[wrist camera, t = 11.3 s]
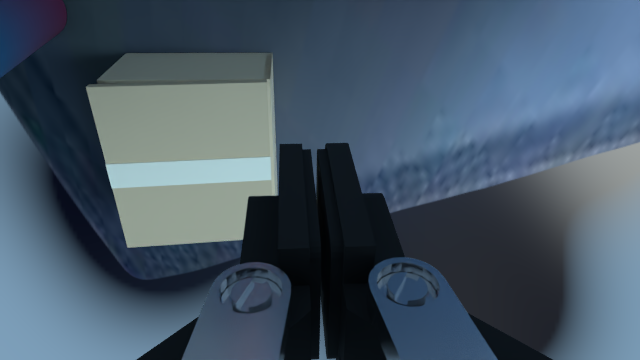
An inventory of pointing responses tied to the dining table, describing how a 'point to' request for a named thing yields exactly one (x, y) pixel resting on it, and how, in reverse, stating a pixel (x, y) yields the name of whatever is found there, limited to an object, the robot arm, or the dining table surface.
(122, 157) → the lid
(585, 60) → the dining table surface
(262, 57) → the carton
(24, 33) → the cup
